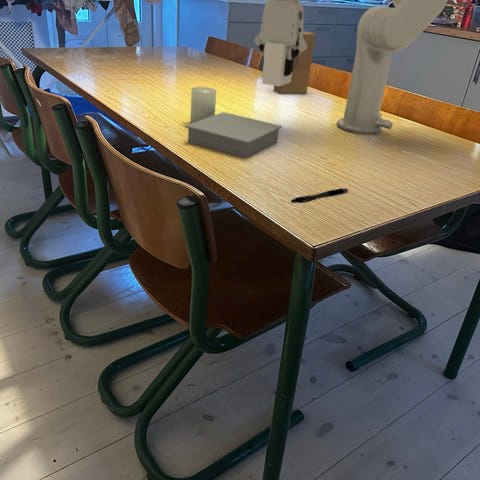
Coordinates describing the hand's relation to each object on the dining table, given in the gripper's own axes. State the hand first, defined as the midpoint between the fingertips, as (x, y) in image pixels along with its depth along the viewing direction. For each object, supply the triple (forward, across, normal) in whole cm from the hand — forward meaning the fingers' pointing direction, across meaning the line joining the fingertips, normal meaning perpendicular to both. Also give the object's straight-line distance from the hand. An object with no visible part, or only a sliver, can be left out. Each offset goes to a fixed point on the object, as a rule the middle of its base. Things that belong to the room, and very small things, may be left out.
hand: (277, 72), depth 126 cm
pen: (+15, -29, +36) cm, 49 cm away
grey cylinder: (+14, +15, +13) cm, 24 cm away
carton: (+3, 0, 0) cm, 3 cm away
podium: (+14, +1, +20) cm, 24 cm away
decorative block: (+15, +15, -43) cm, 48 cm away
